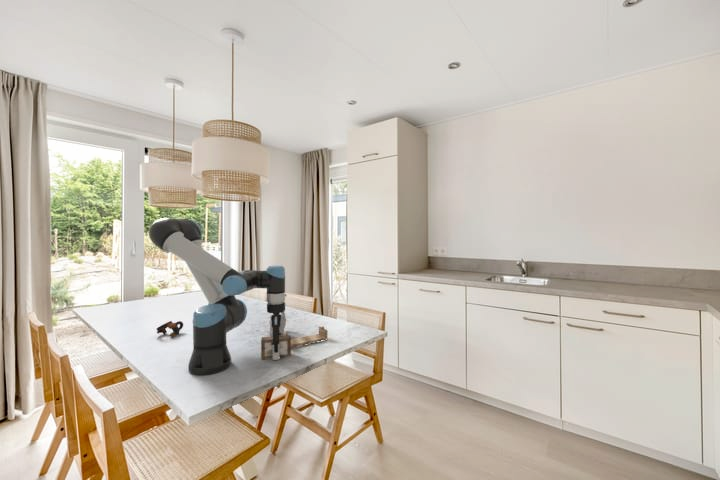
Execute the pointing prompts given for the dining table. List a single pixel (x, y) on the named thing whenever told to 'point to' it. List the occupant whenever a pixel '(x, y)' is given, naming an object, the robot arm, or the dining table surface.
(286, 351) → the frame
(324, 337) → the ledge
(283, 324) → the mug
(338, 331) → the dining table surface
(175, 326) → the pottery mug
